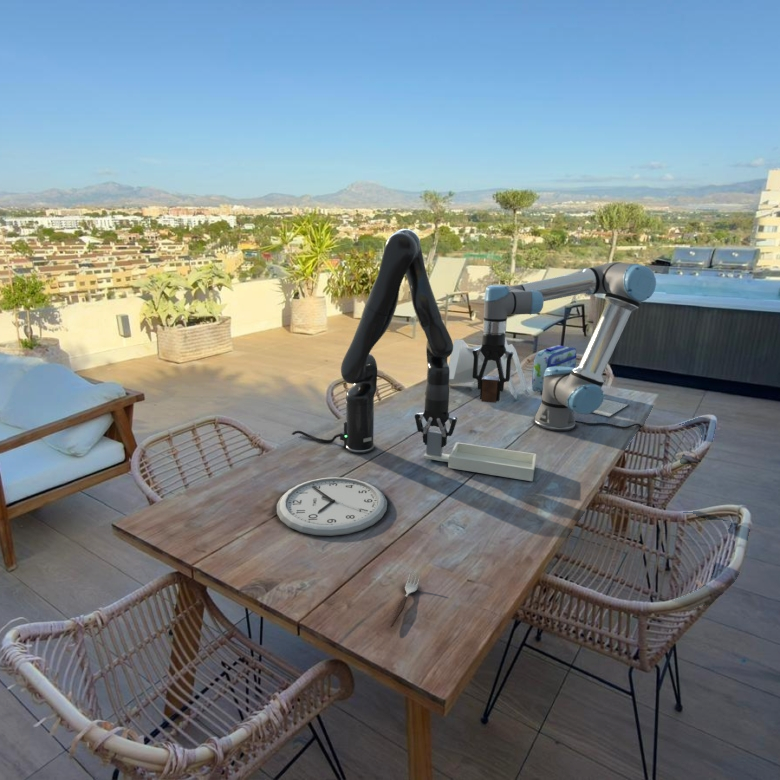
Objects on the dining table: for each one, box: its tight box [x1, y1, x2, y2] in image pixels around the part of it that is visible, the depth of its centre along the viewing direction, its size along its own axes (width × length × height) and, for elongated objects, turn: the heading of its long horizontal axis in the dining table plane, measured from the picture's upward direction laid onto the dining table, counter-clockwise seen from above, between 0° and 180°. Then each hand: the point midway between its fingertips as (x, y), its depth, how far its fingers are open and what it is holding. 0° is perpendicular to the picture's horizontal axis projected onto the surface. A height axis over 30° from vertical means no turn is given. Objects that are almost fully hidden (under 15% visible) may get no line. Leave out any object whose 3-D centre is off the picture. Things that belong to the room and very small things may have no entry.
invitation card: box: [591, 398, 629, 418], centre depth 226 cm, size 21×1×15 cm
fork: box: [390, 569, 422, 628], centre depth 106 cm, size 3×16×2 cm, turn 160°
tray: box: [423, 429, 537, 482], centre depth 167 cm, size 35×12×9 cm, turn 72°
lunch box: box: [531, 345, 577, 393], centre depth 245 cm, size 26×11×21 cm, turn 134°
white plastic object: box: [448, 336, 531, 400], centre depth 245 cm, size 37×45×31 cm
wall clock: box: [276, 476, 388, 537], centre depth 142 cm, size 30×2×30 cm
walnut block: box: [480, 374, 500, 404], centre depth 179 cm, size 5×5×8 cm
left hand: (434, 445), depth 171 cm, fingers closed on tray, 5 cm apart
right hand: (489, 399), depth 181 cm, fingers closed on walnut block, 5 cm apart
